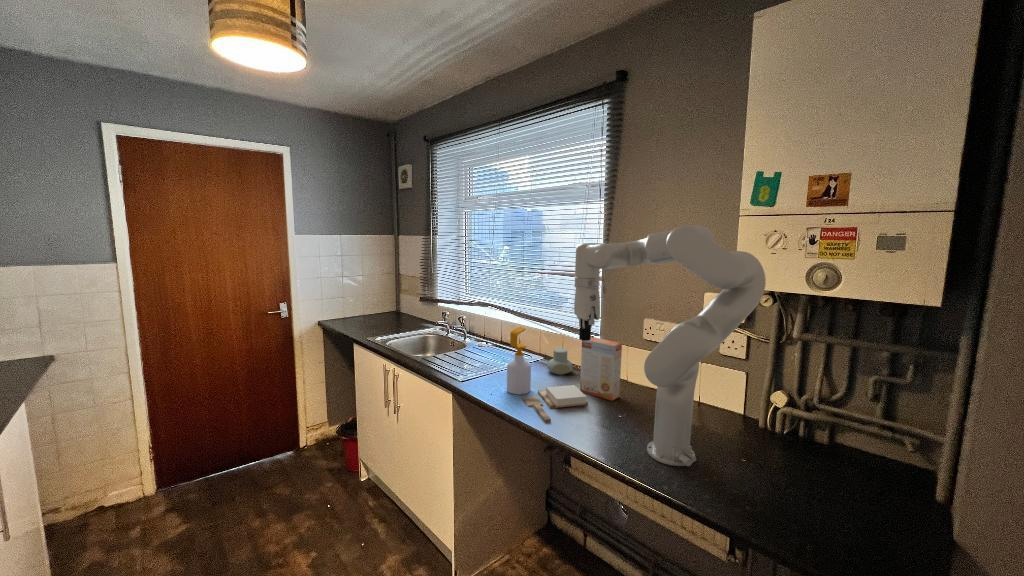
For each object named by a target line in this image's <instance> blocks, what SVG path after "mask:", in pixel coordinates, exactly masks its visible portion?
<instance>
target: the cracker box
mask: <svg viewBox="0 0 1024 576" xmlns="http://www.w3.org/2000/svg"><path fill="white" fill-rule="evenodd" d="M622 349H623V343H622V342H617V341H613V340H609V339H604V338H597V337H593V336H591V339H590V340H586V341H582V340H581V355H580V356H581V358H580V360H581V361H580V383H579V384H580V385H579V388H580V389H579V390H580V391H581V392H582V393H584V394H589V395H591V396H594V397H598V398H602V399H605V400H608V401H612V402H613V401H614V400H616V399H618V398H620V391H621V390H620V389H621V370H622V369H621V368H622V352H623V351H622Z"/></svg>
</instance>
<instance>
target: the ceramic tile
mask: <svg viewBox="0 0 1024 576" xmlns="http://www.w3.org/2000/svg"><path fill="white" fill-rule="evenodd" d="M545 390H546V396H547V397H548V398H549V399H550V400H551V402H552V403H553V404H554V405H555V406H556V407H560V408H567V407H566V406H570V407H577V405H580V406H586V401H587V395H585V393H584V392H581V391H580V389H579V388H578V387H577V386H576V385H574V384H572V385H560V386H559V385H558V386H548V387H547V386H546V388H545Z"/></svg>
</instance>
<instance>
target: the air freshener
mask: <svg viewBox="0 0 1024 576" xmlns="http://www.w3.org/2000/svg"><path fill="white" fill-rule="evenodd" d="M546 365H547V369H548V371H550V373H553V374H555V375H558V376H563V375H566V374H569V373H570V372H571V371H572V370H573V367H574V366H573V363H572V362H571V360H569V359H568V350H567V349H565V348H554V349H553V358H551V359H549V361H548V362H547V364H546Z"/></svg>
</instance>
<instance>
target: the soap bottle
mask: <svg viewBox="0 0 1024 576" xmlns="http://www.w3.org/2000/svg"><path fill="white" fill-rule="evenodd" d="M523 332H526V328H525V327H522V326H518V327H516V328H515V329H512V330H511V332H510V336H509V337H510V338H509V339H510V341H509V342H510V346H511V347H513V348H515V350H516V351H515V353H514V358H513V359H511V360H510V361H509V362H508V363H507V365H506V391H507V392H508V393H509V394H512V395H518V396H522V395H527V394H528V393H530V392H531V389H532V388H531V384H532V383H531V381H532V378H531V375H532V366H531V363H530V362H529V361H528V360H527V359H525V358H524V357H525V356H524V352H522V350H524V349H525V348H527V345H526V344H523V343H518V336H519V334H520V333H523Z"/></svg>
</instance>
